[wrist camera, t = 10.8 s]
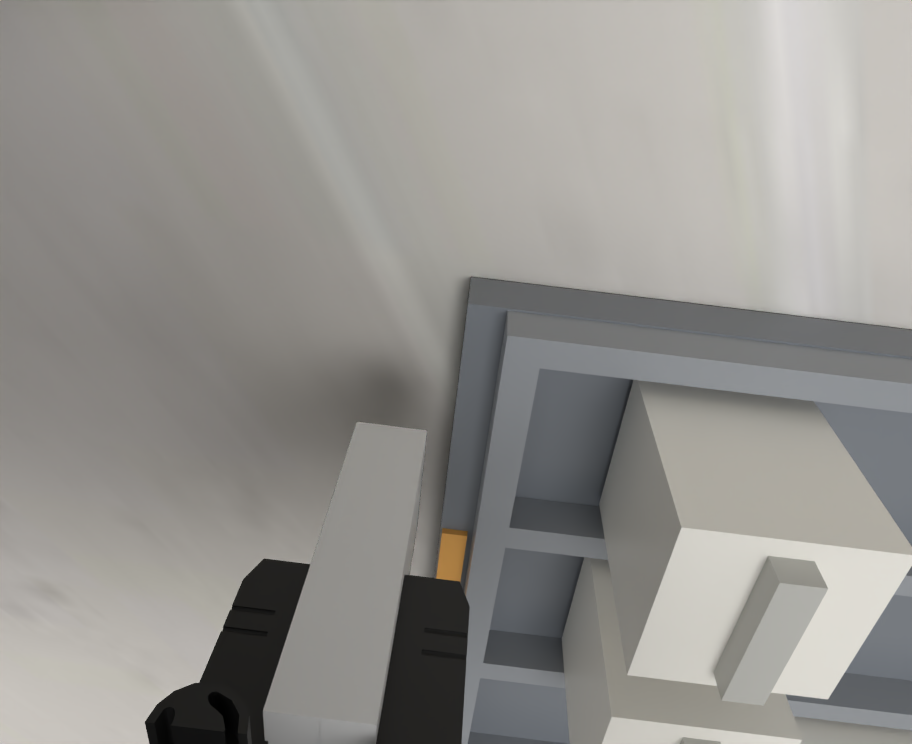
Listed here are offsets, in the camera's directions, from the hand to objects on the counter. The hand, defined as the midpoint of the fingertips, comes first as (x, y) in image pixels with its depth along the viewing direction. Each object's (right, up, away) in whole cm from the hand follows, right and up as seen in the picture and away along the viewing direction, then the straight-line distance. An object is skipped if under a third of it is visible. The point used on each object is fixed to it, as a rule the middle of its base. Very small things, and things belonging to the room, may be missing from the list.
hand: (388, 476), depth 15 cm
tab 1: (+7, 0, +2) cm, 8 cm away
